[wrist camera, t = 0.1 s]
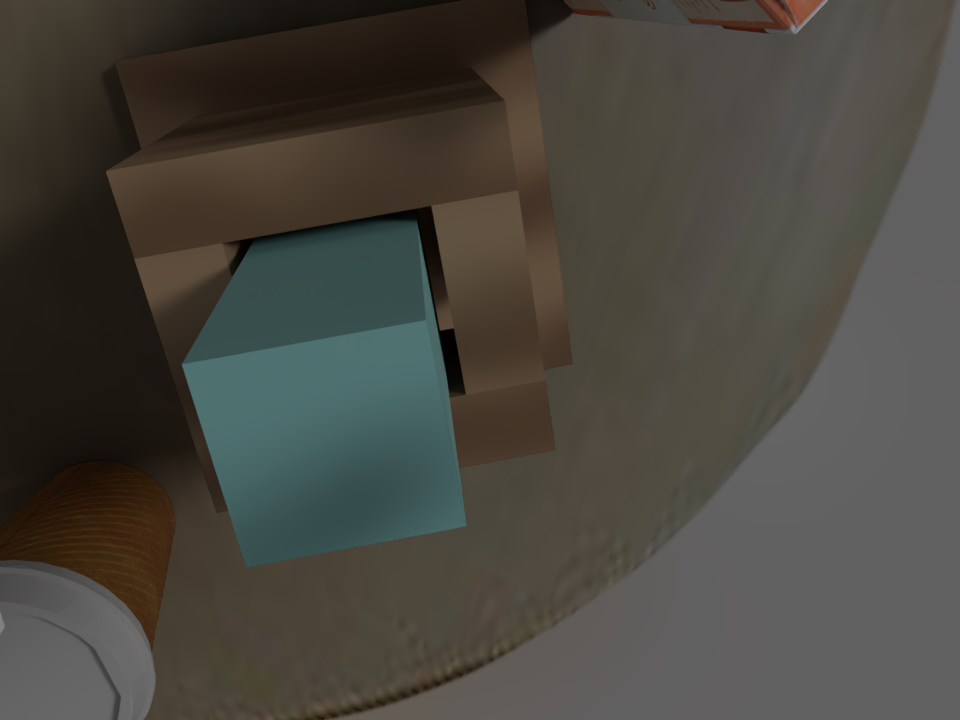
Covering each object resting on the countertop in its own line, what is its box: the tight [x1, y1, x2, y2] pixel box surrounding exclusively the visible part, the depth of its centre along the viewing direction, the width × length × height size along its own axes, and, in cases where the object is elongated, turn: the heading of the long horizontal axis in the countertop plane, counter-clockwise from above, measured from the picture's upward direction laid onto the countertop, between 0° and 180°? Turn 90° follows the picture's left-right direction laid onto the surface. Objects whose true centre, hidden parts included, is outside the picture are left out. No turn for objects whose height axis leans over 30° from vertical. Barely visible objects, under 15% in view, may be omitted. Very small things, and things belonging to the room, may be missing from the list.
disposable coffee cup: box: [0, 461, 175, 720], centre depth 37 cm, size 10×10×12 cm
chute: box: [106, 0, 573, 513], centre depth 32 cm, size 16×16×13 cm
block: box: [182, 208, 466, 567], centre depth 24 cm, size 5×5×12 cm
